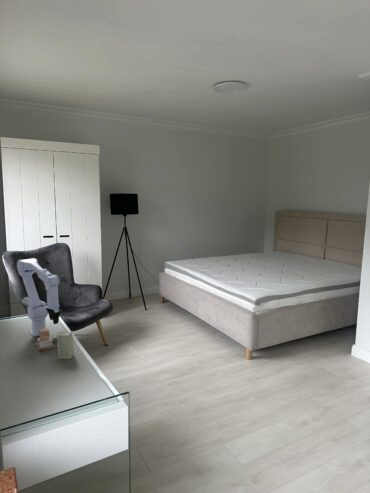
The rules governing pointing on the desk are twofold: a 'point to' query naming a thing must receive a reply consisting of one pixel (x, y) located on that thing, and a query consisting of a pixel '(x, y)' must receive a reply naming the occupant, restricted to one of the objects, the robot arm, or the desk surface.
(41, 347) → the plate
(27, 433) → the desk surface
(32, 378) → the desk surface
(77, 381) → the desk surface
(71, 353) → the skincare box
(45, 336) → the terracotta block
